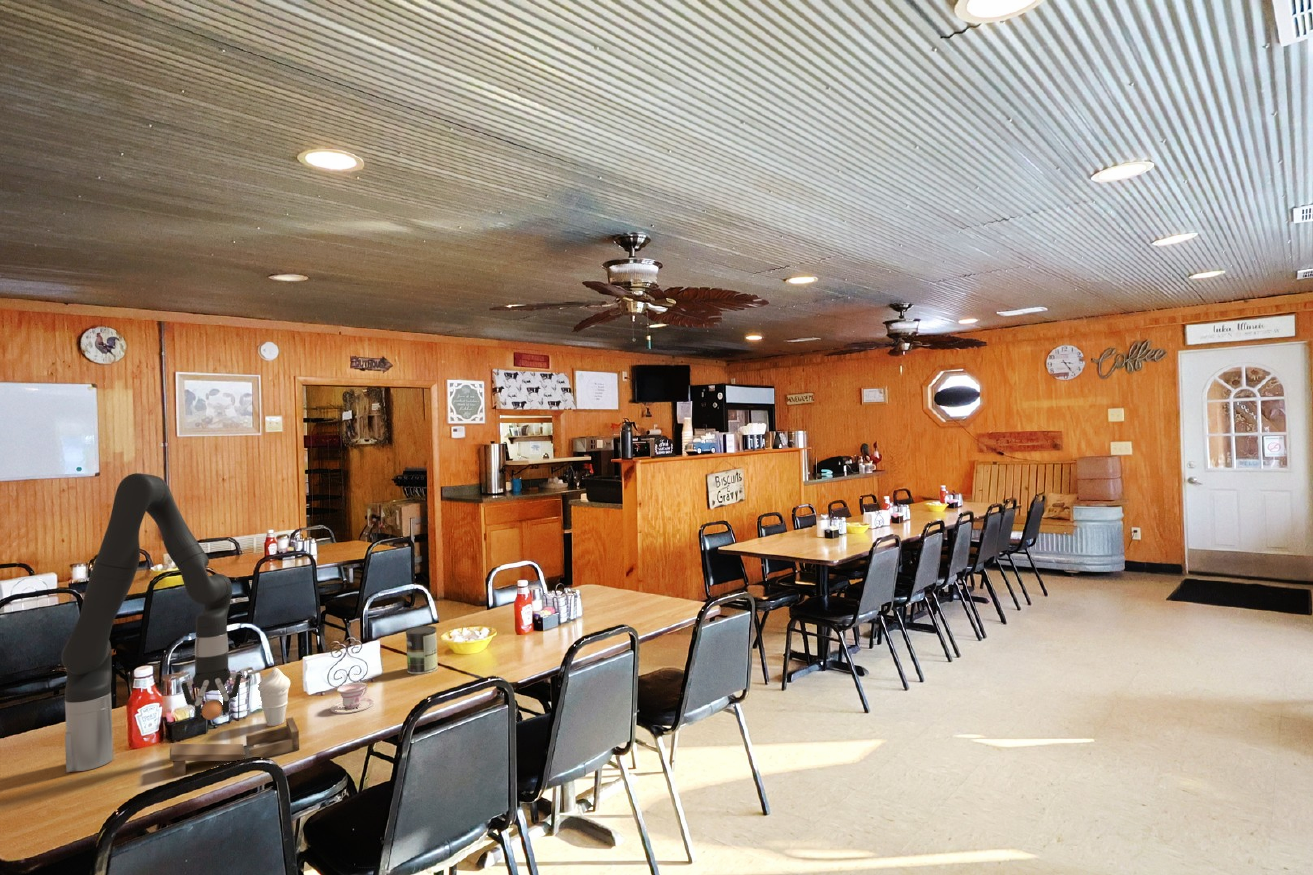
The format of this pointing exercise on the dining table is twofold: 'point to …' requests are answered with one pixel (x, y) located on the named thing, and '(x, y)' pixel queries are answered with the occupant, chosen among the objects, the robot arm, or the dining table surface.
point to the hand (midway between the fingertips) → (212, 716)
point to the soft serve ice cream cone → (274, 696)
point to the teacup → (352, 697)
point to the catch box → (273, 741)
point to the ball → (212, 709)
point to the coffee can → (421, 650)
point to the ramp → (203, 754)
